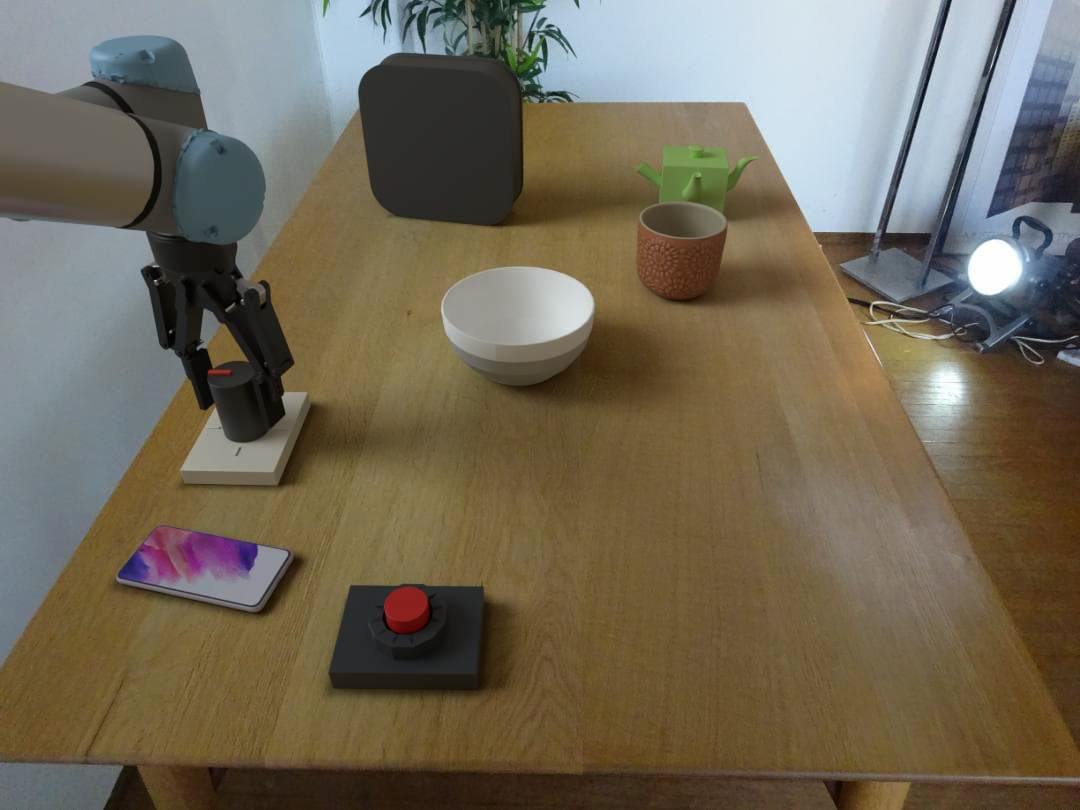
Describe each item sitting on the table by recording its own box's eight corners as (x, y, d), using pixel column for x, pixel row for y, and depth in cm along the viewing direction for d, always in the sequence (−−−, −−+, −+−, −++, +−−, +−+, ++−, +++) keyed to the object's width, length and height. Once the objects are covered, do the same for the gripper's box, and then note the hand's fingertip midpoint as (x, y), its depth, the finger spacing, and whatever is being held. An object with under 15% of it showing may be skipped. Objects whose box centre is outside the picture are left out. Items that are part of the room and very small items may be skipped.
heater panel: (277, 485, 86) (273, 470, 84) (184, 484, 86) (179, 469, 85) (311, 405, 97) (307, 390, 95) (228, 403, 97) (224, 389, 96)
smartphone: (257, 610, 72) (111, 578, 75) (260, 616, 72) (114, 584, 75) (295, 549, 77) (158, 521, 80) (297, 555, 78) (160, 527, 81)
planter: (708, 316, 113) (719, 245, 106) (623, 300, 116) (628, 230, 109) (724, 275, 122) (735, 207, 115) (644, 262, 125) (650, 195, 119)
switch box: (332, 688, 67) (324, 659, 64) (353, 600, 74) (347, 571, 71) (477, 689, 67) (474, 660, 64) (484, 601, 74) (482, 572, 71)
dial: (276, 414, 92) (261, 358, 87) (263, 443, 88) (247, 385, 83) (232, 414, 92) (216, 357, 87) (217, 442, 88) (199, 385, 83)
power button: (383, 634, 67) (380, 621, 65) (390, 599, 69) (387, 586, 68) (426, 634, 66) (425, 621, 65) (432, 599, 69) (430, 586, 68)
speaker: (374, 214, 139) (353, 62, 124) (392, 194, 146) (374, 47, 131) (513, 228, 135) (510, 72, 119) (526, 207, 141) (524, 57, 126)
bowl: (605, 333, 109) (609, 276, 104) (574, 417, 95) (575, 356, 90) (473, 314, 113) (470, 258, 108) (424, 392, 99) (417, 332, 93)
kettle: (750, 213, 140) (760, 149, 133) (695, 237, 132) (704, 171, 125) (684, 186, 149) (691, 125, 142) (630, 207, 141) (634, 144, 134)
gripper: (305, 220, 74) (342, 413, 88) (129, 187, 81) (190, 373, 94) (254, 255, 69) (302, 455, 83) (69, 217, 75) (143, 409, 89)
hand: (242, 411), depth 89 cm, fingers open, 8 cm apart
